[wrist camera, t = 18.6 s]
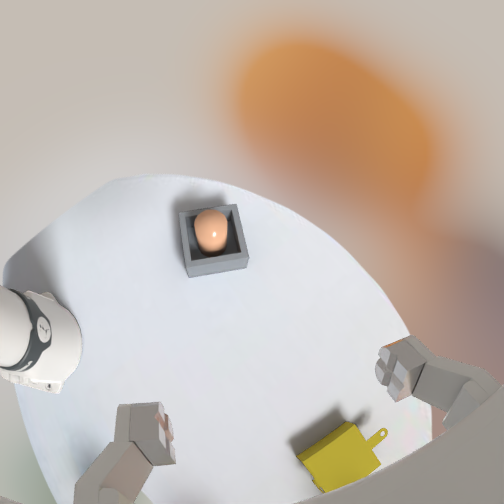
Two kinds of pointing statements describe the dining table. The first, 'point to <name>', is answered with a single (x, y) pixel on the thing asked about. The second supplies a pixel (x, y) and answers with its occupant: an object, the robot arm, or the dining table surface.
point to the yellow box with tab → (341, 457)
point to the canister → (211, 232)
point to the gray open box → (227, 261)
